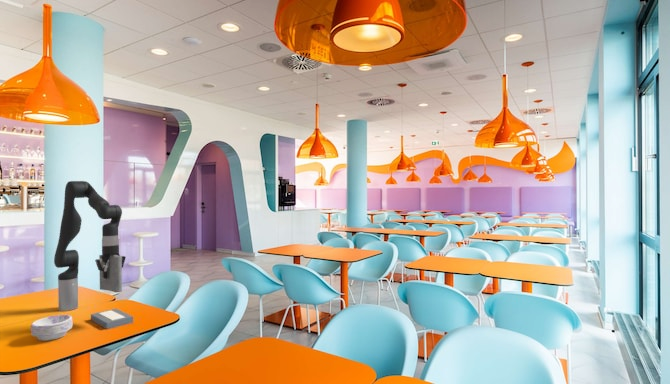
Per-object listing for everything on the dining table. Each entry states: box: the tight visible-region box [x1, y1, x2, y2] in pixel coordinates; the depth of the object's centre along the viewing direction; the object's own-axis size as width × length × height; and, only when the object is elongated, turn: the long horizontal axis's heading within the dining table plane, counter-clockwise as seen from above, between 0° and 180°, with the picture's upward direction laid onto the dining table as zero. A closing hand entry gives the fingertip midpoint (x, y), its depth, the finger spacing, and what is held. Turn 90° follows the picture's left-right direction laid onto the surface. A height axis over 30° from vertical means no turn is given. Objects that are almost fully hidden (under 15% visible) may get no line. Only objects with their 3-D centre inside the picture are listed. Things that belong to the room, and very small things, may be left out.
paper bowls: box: [30, 314, 73, 342], centre depth 176 cm, size 15×15×8 cm
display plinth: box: [90, 308, 134, 330], centre depth 197 cm, size 22×12×3 cm, turn 50°
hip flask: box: [98, 254, 123, 293], centre depth 197 cm, size 16×4×20 cm, turn 61°
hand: (111, 277), depth 197 cm, fingers closed on hip flask, 4 cm apart
